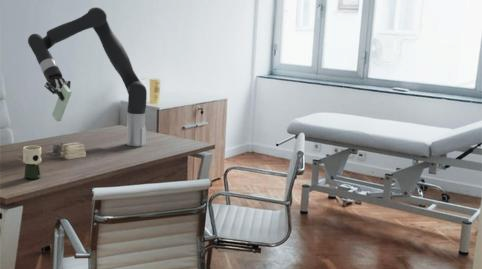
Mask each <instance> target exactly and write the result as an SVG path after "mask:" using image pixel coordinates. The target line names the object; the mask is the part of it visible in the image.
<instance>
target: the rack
mask: <svg viewBox="0 0 482 269" xmlns="http://www.w3.org/2000/svg"><path fill="white" fill-rule="evenodd" d="M45 153H47V154H49V155H53V156H54V157H58V158H61V159H64V160H66V161H67V160H74V159H80V158H86V157H88V155H87V152H86V147H85V144H83V143H80V142H78V141H77V142H76V141H75V142H69V143H67V142H64V141H62V142H60V144H59V143H52V150H49V151H45Z"/></svg>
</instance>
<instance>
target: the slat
mask: <svg viewBox="0 0 482 269" xmlns="http://www.w3.org/2000/svg"><path fill="white" fill-rule="evenodd" d="M61 92H62V94H63V96H64V100H63V101H61V100H60V99H59V97H58V96H57V97H58V98H57V99H56V102H55V106H54V108H53V112H52V114H51V116H52V118H54V120H55V121H56V122H57V123H58V122H61V121H62V119H63V116H64V114H65V111H66V108H67V105H68V102H69V101H70V97H71V94H72V90H71V88H70V89H69V88H68V86H67V85H63V86H62V89H61Z"/></svg>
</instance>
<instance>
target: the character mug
mask: <svg viewBox="0 0 482 269" xmlns="http://www.w3.org/2000/svg"><path fill="white" fill-rule="evenodd" d="M22 162H23V163H24V164H25V168H24V178H28V179H30V180H31V179H32V180H35V179H39V178H41V169H40V165H39V164H40V163H42V147H41V145H27V146H23V148H22Z"/></svg>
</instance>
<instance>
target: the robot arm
mask: <svg viewBox="0 0 482 269" xmlns="http://www.w3.org/2000/svg"><path fill="white" fill-rule="evenodd" d="M107 18H108V17H107V13H106V11H105V10H104V9H102V8H100V7H97V6H96V7H91V8H90V9H89V10H88V11H87V12H86V13H85V14H83V15H82V16H80V17H77V18H75V19H74V20H71V21H68V22H65V23H63V24H60V25H58V26H55V27H53V28H51V29H49V30H47V31H46V35H45V36H44V37H43V36H41V35H40V34H38V33H33V34H30V35H29V36H28V37H27V43H28V46H29V48H30V49H31V50H32V53H33V54H34V57H35V58H36V61H37V63H38V65H39V68H40V70H41V72H42V73H43V76H44V78H45V80H46V81H47V82H46V83H45V84H44V87H45V88H46V90H48V91H49V92H50V93H52V94H53V95H55V94H56V95H57V97H59V99H60V100H61V101H63V100H64V96H63V94H62V92H61V89H62V86H63V85H67V86H68V88H69V89H70V90H71V81H70V80H65V78H64V77H63V73H62V72H61V70H60V68H59V66H58V64H57V62H56V61H55V60H54V57H53V56H52V54H51V52H50V51H49V50H50V49H51V48H52V47H53V46H54V45H55V44H58V43H60V42H63V41H64V40H67V39H68V38H70V37H72V36H74V35H77V34H78V33H82V32H84V31H86V30H88V29H93V30H94V31H95V33H96V35H97V36H98V38H99V40H100V43H101V46H102V48H103V51H104V52H105V54H106V56H107V59H109V62H110V63H111V65H112V67H113V69H115V71H116V73H118V76H120V78H121V80H122V82H123V84H124V87H125V89H126V92H127V94H128V96H127V97H128V100H127V103H128V104H127V109H126V111H127V112H126V113H127V114H126V116H127V118H126V145H127V146H128V147H129V146H130V147H143V146H145V145H146V144H147V143H146V142H147V141H146V139H147V138H146V137H147V126H146V109H147V95H148V94H147V92H148V91H147V87H146V86H145V85H144V84H143V82H141V80H140V79H139V77H138V76H137V74H136V73H135V71H134V69H133V66H132V62H131V60H130V57H129V55H128V53H127V51H126V50H125V48H124V46H123V45H122V43H121V42H120V40H119V38H118V37H117V35H115V33H114V31H112V28H111V26H110V25H109V22H108V20H107Z"/></svg>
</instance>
